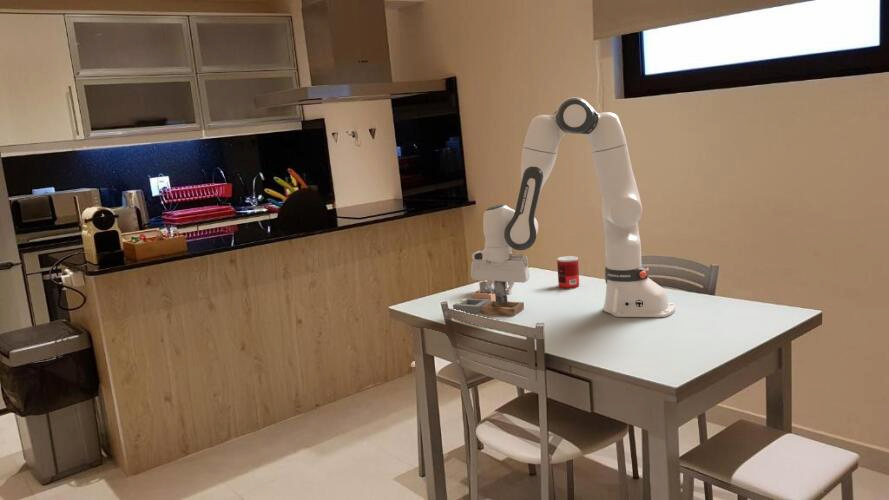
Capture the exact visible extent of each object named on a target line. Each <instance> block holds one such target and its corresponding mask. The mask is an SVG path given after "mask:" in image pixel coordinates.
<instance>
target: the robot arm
mask: <svg viewBox="0 0 889 500" xmlns="http://www.w3.org/2000/svg"><path fill="white" fill-rule="evenodd" d="M567 134H575V135H576V134H579V135H585V136H586V137H587V139H588V143H589V146H590V151H591V156H592V160H593V165H594V170H595V175H596V179H597V182H598V186H599V191H600V194H601V197H602V201H601V212H602V213H601V214H602V226H603V237H604V243H605V244H604V246H605V264H606V266H605V267H604V279H605V280H604V281H605V284H606V287H605V288H606V291H605V297H604V304H603V306H602V307H603V308H602V309H603V311H604V312H606V313H609V314H611V315H612V316H614V317H618V318H664V317H665V318H666V317H669V316H670V315H672V314H673V313H674V312H676V304H675V303H673V302H669V299H668V295H667V292H666V289H664V288H663V286H661V285H659V284H658V283H656V282H655V281H653V280H652V279H651V278H649V267H647V268H646V267H644V265H642V245H641V243H642V242H641V241H642V240H641V237H640V229H639V221H640V220H641V217H642V216H643V215H642V214H643V205H642V201H641V196H640V192H639V189H638V185H637V182H636V177H635V174H634V172H633V171H634V170H633V167H632V161H631V158H630V153H629V147H628V144H627V139H626V138H627V137H626V134H625V132H624V129H623V126H622V124H621V120H620V118H619V116H618V115H617V114H616V113H613V112H611V111H609V112H608V111H604V112H597V111H596V110H595V109H594V108H593V106H591V105H590V103H588V102H587V101H586V100H585V98H584V99H583V98H581V97H578V96H577V97H576V96H575V97H574V96H573V97H569V98H566V99H565V100H564V101H562V102H561V103H560V104H559V106H558V107H557V110H555V111H554V113H553V114H539V115H537V116H535V117H533V118H532V119H531V122H530V124H529V126H528V128H527V131H526V134H525V138H524V141H523V147H522V152H521V160H520V186H519V193H518V197H517V201H516V206H515V209H513V208H512V207H509V206H508V205H507V204H502V203H501V204H497V205H492V206H490V207H488V208H486V209H485V211H484V213H483V217H482V218H483V219H482V222H483V223H482V224H483V225H482V227H483V235H484V238H485V239H484V240H485V241H484V248H482V249H479V250H477V251H475V252H473V253H472V254H471V259H472V260H471V265H470V277H471V278H472V280H473V281H480V282H482V281H487V285H488V286H489V288H490V289H491V294H495V288H494V286H493V284H492V283H493V281H501V282H507V284H508V288H507V289H505V292H506V293H505V294H506V295H507V296H508V295H509V296H510V295H512V289H513V286H514V285H515V283H522V284H523V283H526V282H528V281H529V279H530V271H529V259H528V257H527V256H526V255H524V254H522V253H519V254H517V253H512V249H514V250H516V251H525V250H528V249H530V248H531V247H532V246H533V245H534V244H535V242H536V239H537V235H538V233H539V228H540V227H539V226H540V225H539V222H538V219H537V218H536V217H535V215H536V212H537V208H538V207H537V206H538V203H539V202H538V201H539V198H540V194H541V191H542V189H543V187H544V186H545V183H546V181H547V180H548V178H549V177H550V175H551V173H552V171H553V169H554V166H555V163H556V161H557V160H556V159H557V157H558V151H559V147H560V144H561V143H560V142H561V140H562V138H563V137H564V136H565V135H567Z"/></svg>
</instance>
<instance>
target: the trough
mask: <svg viewBox="0 0 889 500" xmlns="http://www.w3.org/2000/svg"><path fill="white" fill-rule="evenodd" d="M524 305H525V303H524V301H523V302H522V301H507V302H504V303H497V302H496V301H490V302H488V303H487V304H485V305H483V306H482V307H481V308H482V312H481V314H482V315H495V316H509V317H515V316H517V315H518V314H520V313H521V312H522V311H524V310H525V306H524Z"/></svg>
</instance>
